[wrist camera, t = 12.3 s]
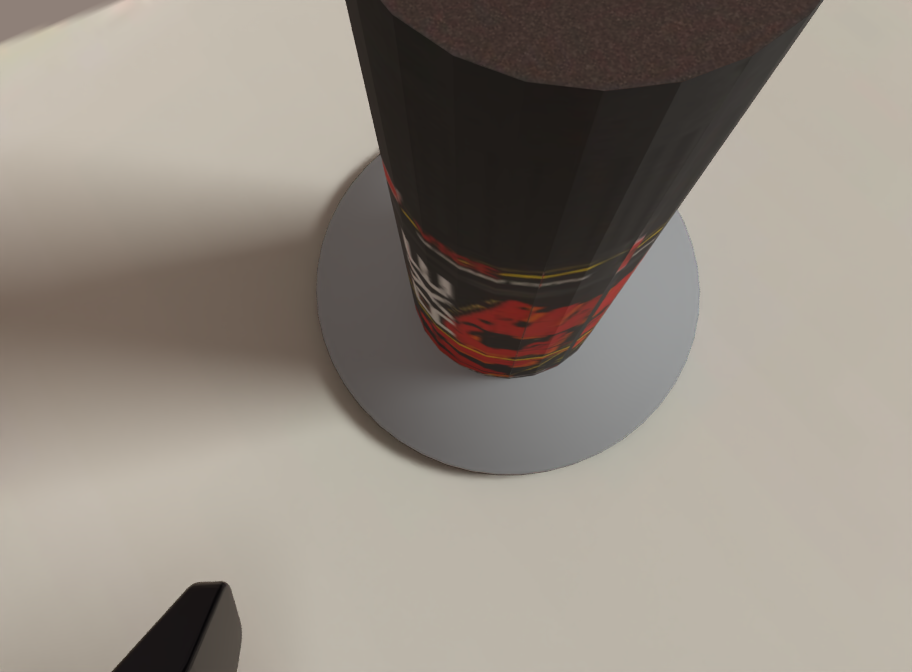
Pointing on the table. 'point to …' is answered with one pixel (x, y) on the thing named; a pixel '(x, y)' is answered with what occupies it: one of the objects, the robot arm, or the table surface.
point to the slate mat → (485, 397)
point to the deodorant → (549, 149)
